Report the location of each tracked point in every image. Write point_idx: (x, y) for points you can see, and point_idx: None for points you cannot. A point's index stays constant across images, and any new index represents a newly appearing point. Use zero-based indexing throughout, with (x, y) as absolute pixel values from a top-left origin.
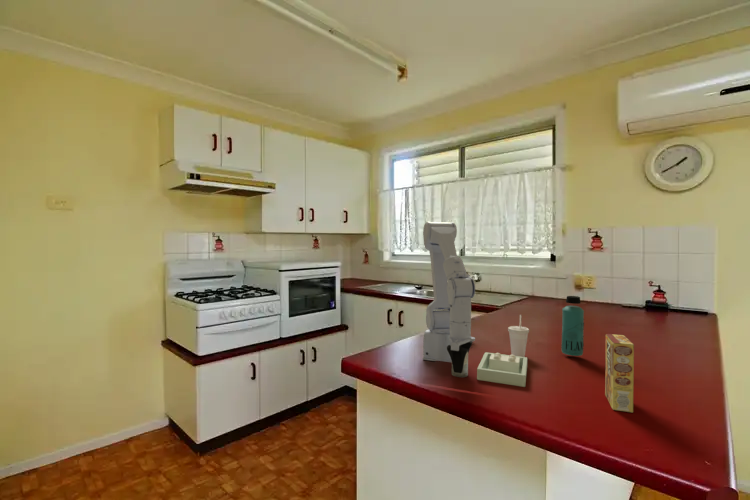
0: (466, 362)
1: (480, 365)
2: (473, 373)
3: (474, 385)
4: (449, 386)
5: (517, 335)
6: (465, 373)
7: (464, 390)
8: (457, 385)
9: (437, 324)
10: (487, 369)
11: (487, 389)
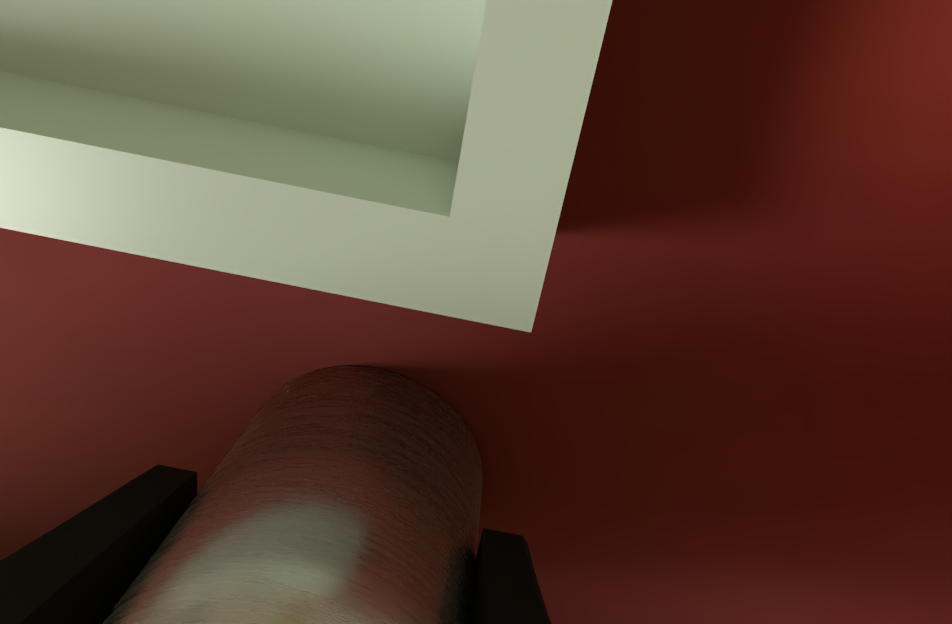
0: (373, 605)
1: (238, 231)
2: (149, 272)
3: (703, 283)
4: (776, 593)
5: None
6: (434, 453)
7: (922, 432)
8: (730, 508)
9: None
10: (534, 41)
11: (881, 65)
